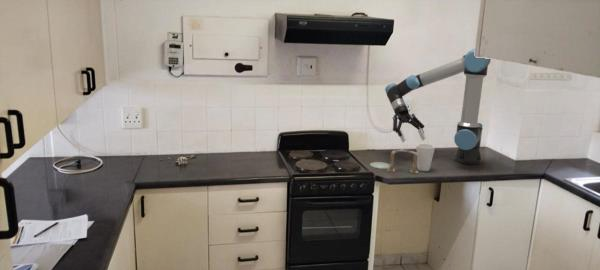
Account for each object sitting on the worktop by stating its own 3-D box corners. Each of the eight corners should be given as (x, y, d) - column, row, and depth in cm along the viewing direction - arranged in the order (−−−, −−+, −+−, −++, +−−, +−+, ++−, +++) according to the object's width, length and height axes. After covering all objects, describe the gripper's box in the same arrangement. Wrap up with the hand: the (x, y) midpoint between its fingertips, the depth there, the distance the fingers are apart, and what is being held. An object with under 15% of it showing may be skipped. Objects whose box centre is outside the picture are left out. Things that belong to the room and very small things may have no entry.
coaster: (389, 163, 273) (389, 162, 273) (391, 169, 262) (391, 168, 262) (369, 162, 274) (369, 161, 273) (370, 168, 263) (370, 167, 263)
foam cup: (434, 172, 260) (436, 148, 257) (416, 171, 260) (418, 147, 257) (429, 167, 270) (432, 144, 267) (412, 166, 270) (415, 143, 267)
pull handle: (415, 169, 264) (417, 150, 261) (418, 173, 257) (420, 153, 254) (386, 167, 265) (388, 148, 262) (388, 171, 258) (389, 151, 255)
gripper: (414, 111, 287) (428, 142, 278) (378, 113, 277) (392, 145, 267) (420, 103, 282) (435, 135, 272) (385, 105, 271) (399, 138, 261)
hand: (414, 140), depth 270 cm, fingers open, 13 cm apart
